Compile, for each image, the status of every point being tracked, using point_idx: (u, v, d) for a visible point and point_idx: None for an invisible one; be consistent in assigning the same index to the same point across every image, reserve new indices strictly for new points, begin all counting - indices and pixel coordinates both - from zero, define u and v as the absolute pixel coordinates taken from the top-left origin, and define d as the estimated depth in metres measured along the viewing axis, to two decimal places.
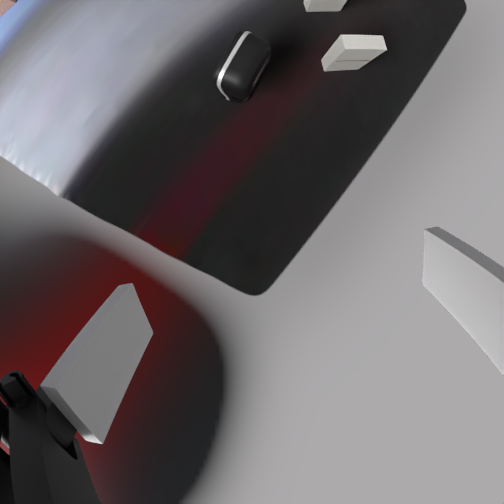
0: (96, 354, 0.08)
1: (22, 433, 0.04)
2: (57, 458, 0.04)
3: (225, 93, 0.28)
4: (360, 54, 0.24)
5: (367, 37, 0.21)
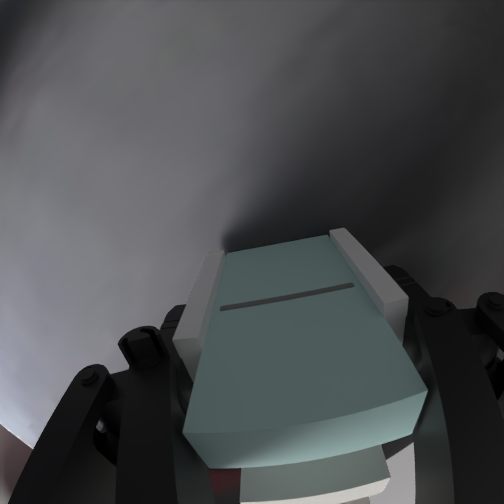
0: None
1: (144, 399, 0.05)
2: None
3: None
4: None
5: None
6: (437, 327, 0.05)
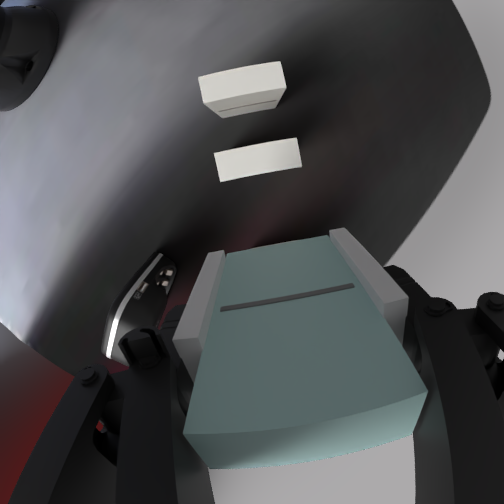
0: None
1: (144, 399, 0.05)
2: None
3: None
4: None
5: None
6: (437, 327, 0.05)
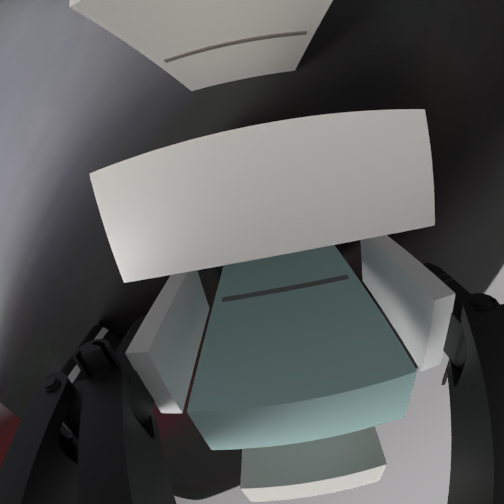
0: (175, 321, 0.09)
1: (99, 409, 0.05)
2: (137, 438, 0.05)
3: None
4: None
5: (329, 481, 0.07)
6: (482, 321, 0.05)
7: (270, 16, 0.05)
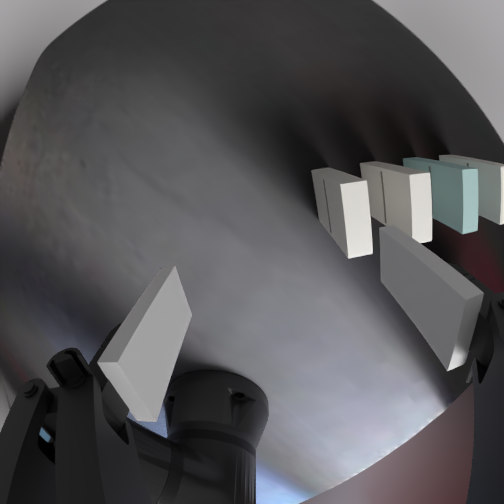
0: (150, 330, 0.09)
1: (73, 415, 0.05)
2: (110, 443, 0.05)
3: None
4: None
5: (503, 189, 0.16)
6: None
7: None
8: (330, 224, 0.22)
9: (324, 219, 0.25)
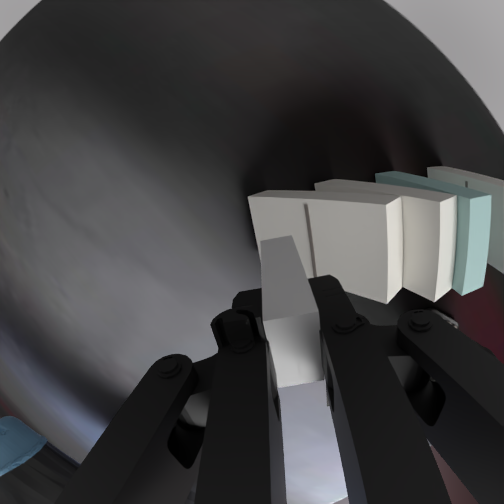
0: None
1: (237, 386, 0.05)
2: (273, 422, 0.05)
3: None
4: None
5: None
6: (346, 346, 0.06)
7: None
8: (317, 266, 0.16)
9: None
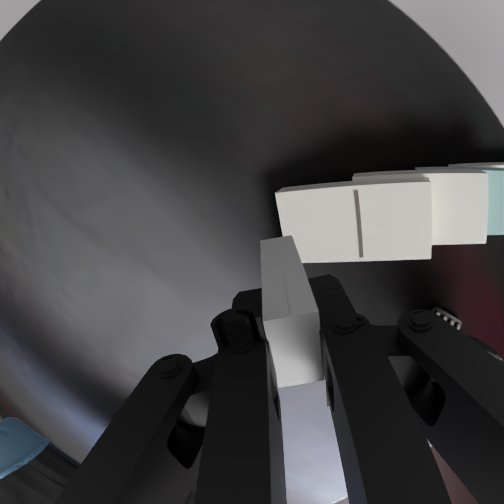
0: None
1: (237, 386, 0.05)
2: (273, 423, 0.05)
3: None
4: None
5: None
6: (346, 346, 0.06)
7: None
8: (364, 245, 0.17)
9: (328, 250, 0.18)
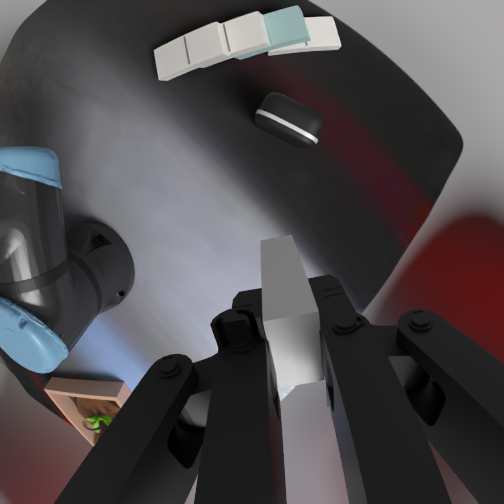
0: None
1: (237, 386, 0.05)
2: (273, 422, 0.05)
3: None
4: None
5: (335, 28, 0.28)
6: (346, 345, 0.06)
7: None
8: (189, 58, 0.29)
9: (175, 66, 0.30)
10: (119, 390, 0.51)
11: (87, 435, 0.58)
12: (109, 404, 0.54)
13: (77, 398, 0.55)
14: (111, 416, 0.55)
